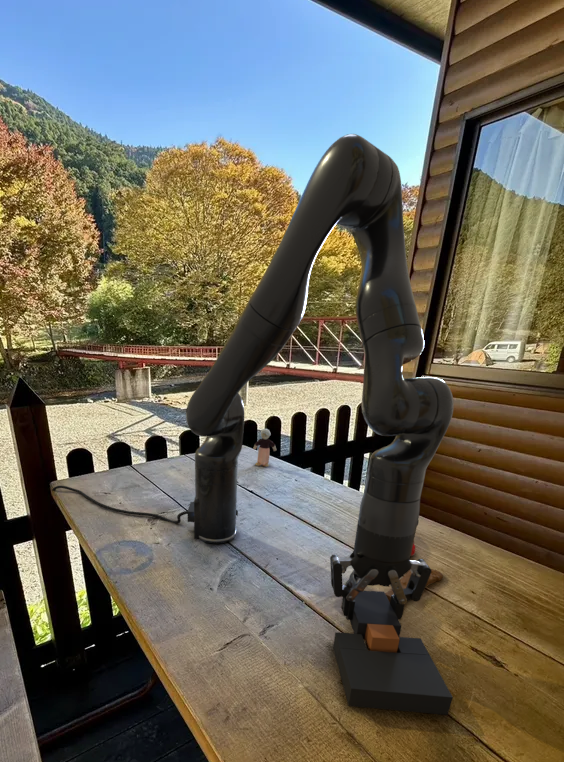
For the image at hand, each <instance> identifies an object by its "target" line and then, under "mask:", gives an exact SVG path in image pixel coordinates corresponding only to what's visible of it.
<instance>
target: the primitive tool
mask: <svg viewBox="0 0 564 762" xmlns="http://www.w3.org/2000/svg"><path fill="white" fill-rule="evenodd" d="M430 569H431V574H430V577H429V579H428V582H427V584H426V586H425V588H427V587H428V586H429V585H432V584H433V583H436V582H440V581H442V580H443V578H444V574H443V573H442V572H441V571H439V570H436V569H433V568H430ZM411 574H412V573H411V571H410V570H409V571H408V572H407V573H405V574H404V575H403V576H402V577H401V578H400V579H399V580H400V583H401V585H402V588H403V589H405V588H406V587H407V584H408V582H409V579H410V576H411ZM385 594H386V596H387V598H388V600H389V602H390V600H391V595H394V593H393V591H392V588H390V590H387V592H385Z"/></svg>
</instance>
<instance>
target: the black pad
mask: <svg viewBox="0 0 564 762" xmlns="http://www.w3.org/2000/svg"><path fill="white" fill-rule="evenodd" d="M399 639H400V640H399V645H398V649H397V653H394V652H381V651H369V650H368V648H367V645H366V642H365V640H364V639H363V636H362V634H354V632H340V631H339V632H338V631H335V632H334V638H333V645H332V648H333V653H334V656H335V660H336V664H337V668H338V671H339V675H340V679H341V683H342V687H343V691H344V694H345V698H346V702H347V706H348V707H358V708H366V709H379V710H390V711H399V712H410V713H420V714H421V713H422V714H433V715H442V716H448V715H449V712H450V709H451V705H452V702H453V699H454V696H453V695H452V693H451V692H450V690H449V689H450V688H448V685H447V684H446V682H445V679H443V677H442V674H441V673H440V671H439V669H438V667H437V666H436V663H435V662H434V660H433V658H432V657H431V655H430V653H429V650H428V649H427V647H426V645H425V644H424V642H423V640H422V638H419V637H408V636H407V637H406V636H399Z"/></svg>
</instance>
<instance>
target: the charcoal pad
mask: <svg viewBox="0 0 564 762" xmlns="http://www.w3.org/2000/svg"><path fill="white" fill-rule="evenodd" d="M385 593H386V592H385V591H380V590H379V591H378V590H364V591H363V592H359V594H358V595H357V596H356V597H355V599H354V600H355V607H354V611H353V617H352V620H349V623H350V625H351V626H350V627H351V629H352V631H353V632H352V633H354V634H362V636H363V639H364V641H365V644H366V647H367V650H368V651H381V652H394V653H397V649H398V645H399V640H400V639H399V637H400V634H401V631H402V624H401V622H400V620H398V618H397V616H396V614H395V612H394V610H393V608H392V606H391V604H390V602H389V600H388V598H387V596H386V594H385Z"/></svg>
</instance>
